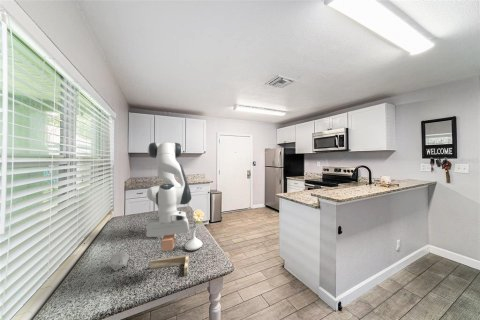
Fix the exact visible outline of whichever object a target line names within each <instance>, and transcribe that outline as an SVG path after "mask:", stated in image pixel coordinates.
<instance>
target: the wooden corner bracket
mask: <svg viewBox="0 0 480 320" xmlns="http://www.w3.org/2000/svg"><path fill="white" fill-rule="evenodd" d="M189 263H190V256H189V254H185V255H178V256H171V257H164V258H158V259H150V260H149V270H153V269H154V270H155V269H161V268H168V267H173V266H179V265H184V266H183V270H184V273H183V274H184V277H187V276H188V277H189V275H188V274H189V266H190V264H189Z"/></svg>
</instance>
